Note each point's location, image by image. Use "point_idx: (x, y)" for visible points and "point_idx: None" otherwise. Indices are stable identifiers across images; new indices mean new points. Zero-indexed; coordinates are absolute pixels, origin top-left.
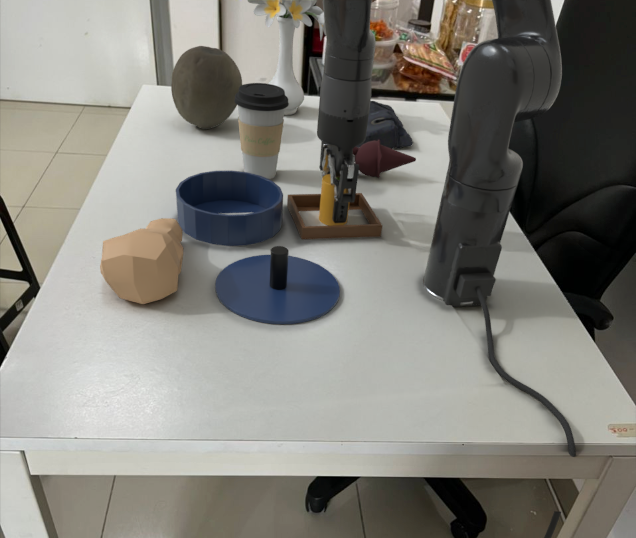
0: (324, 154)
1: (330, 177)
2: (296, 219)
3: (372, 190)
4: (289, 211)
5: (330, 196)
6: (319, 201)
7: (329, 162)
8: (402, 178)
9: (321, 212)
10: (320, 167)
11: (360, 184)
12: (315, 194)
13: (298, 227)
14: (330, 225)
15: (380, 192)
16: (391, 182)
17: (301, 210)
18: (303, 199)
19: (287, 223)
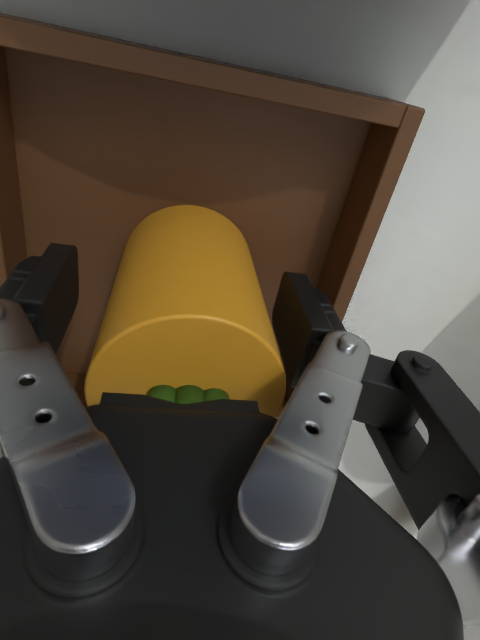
0: (297, 474)
1: (64, 372)
2: (149, 47)
3: (374, 447)
4: (331, 86)
5: (117, 298)
6: (333, 265)
7: (56, 472)
8: (400, 518)
9: (174, 222)
10: (412, 362)
11: (426, 431)
12: (357, 262)
13: (82, 32)
14: (130, 235)
15: (353, 460)
16: (393, 495)
17: (317, 158)
18: (364, 193)
19: (231, 24)
